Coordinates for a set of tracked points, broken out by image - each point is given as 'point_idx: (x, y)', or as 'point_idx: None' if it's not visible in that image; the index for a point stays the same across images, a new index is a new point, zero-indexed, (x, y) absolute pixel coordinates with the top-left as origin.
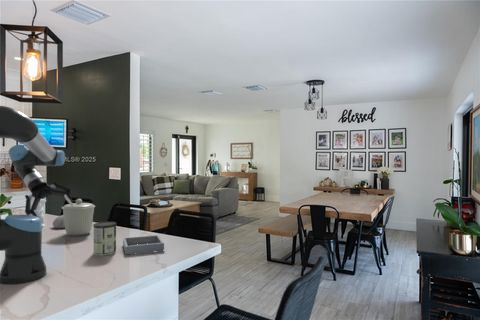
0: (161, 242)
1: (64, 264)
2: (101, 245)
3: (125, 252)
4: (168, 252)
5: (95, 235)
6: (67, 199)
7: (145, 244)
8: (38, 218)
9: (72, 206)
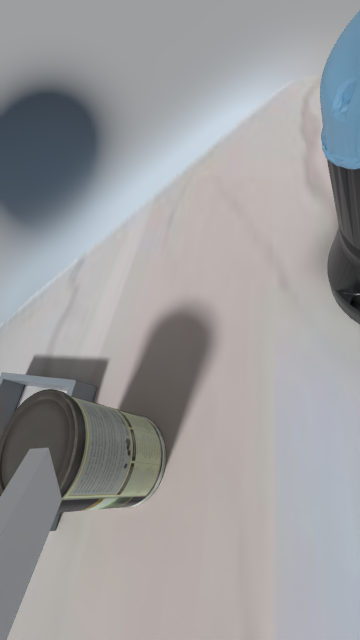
0: (1, 382)
1: (273, 365)
2: (125, 413)
3: (90, 388)
4: (23, 362)
5: (112, 429)
6: (6, 526)
7: (33, 380)
8: (333, 59)
9: (54, 489)
